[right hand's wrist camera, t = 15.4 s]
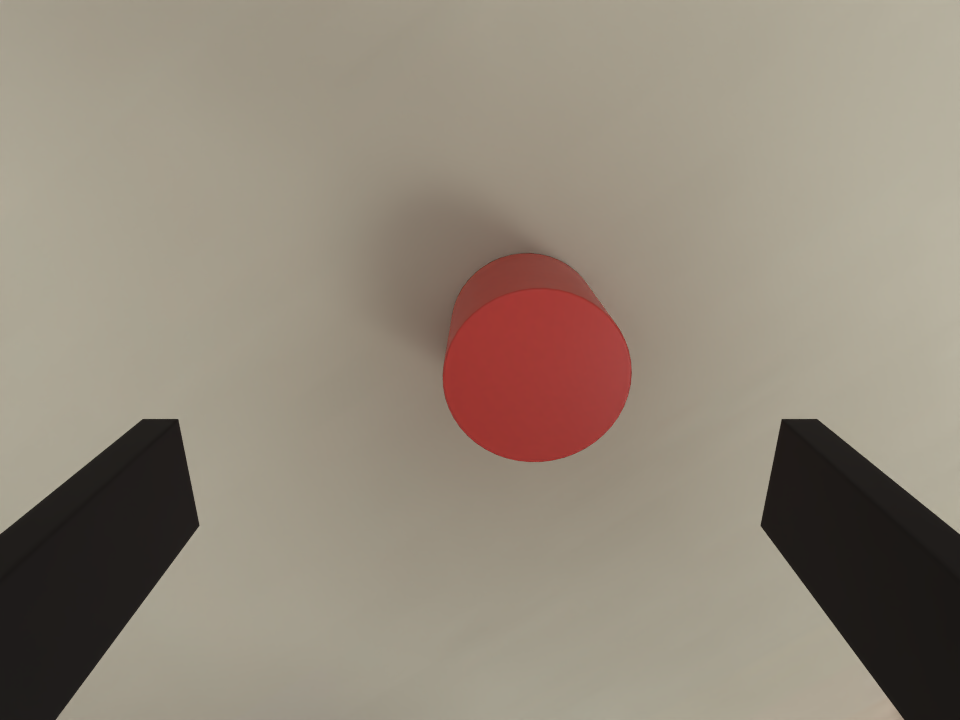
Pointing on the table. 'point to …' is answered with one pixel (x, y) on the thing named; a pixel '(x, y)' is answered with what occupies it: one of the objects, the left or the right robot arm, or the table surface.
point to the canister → (533, 360)
